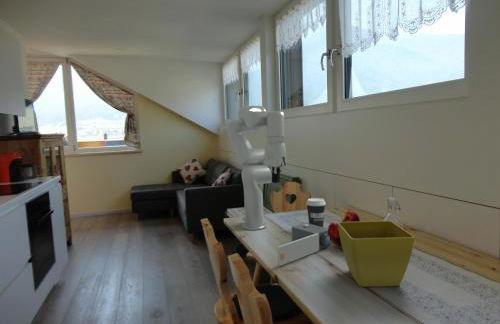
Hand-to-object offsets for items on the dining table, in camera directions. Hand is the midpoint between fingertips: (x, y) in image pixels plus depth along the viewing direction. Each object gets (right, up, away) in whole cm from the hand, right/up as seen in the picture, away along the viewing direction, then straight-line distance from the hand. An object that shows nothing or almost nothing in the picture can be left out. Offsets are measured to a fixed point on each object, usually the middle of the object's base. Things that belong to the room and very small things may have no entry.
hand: (275, 182), depth 147 cm
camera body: (+15, -27, -1) cm, 31 cm away
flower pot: (+29, -30, -35) cm, 55 cm away
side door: (+8, -28, -17) cm, 34 cm away
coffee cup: (+21, -25, +19) cm, 38 cm away
